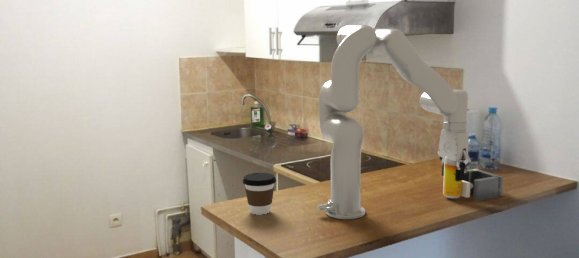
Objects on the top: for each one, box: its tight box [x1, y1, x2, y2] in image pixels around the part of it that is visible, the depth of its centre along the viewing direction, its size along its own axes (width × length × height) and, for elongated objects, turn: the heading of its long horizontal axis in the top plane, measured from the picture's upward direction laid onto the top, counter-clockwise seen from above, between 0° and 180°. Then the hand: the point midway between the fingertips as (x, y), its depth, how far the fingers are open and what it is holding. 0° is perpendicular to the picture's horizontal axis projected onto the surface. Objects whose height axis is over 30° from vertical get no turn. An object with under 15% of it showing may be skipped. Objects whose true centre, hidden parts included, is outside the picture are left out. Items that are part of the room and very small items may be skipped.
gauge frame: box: [464, 168, 504, 202], centre depth 196 cm, size 11×12×7 cm
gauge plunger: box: [460, 169, 473, 198], centre depth 194 cm, size 5×10×8 cm, turn 25°
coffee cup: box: [242, 172, 277, 216], centre depth 181 cm, size 11×11×12 cm
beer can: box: [442, 156, 462, 199], centre depth 190 cm, size 6×6×15 cm
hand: (452, 177), depth 191 cm, fingers closed on beer can, 6 cm apart
